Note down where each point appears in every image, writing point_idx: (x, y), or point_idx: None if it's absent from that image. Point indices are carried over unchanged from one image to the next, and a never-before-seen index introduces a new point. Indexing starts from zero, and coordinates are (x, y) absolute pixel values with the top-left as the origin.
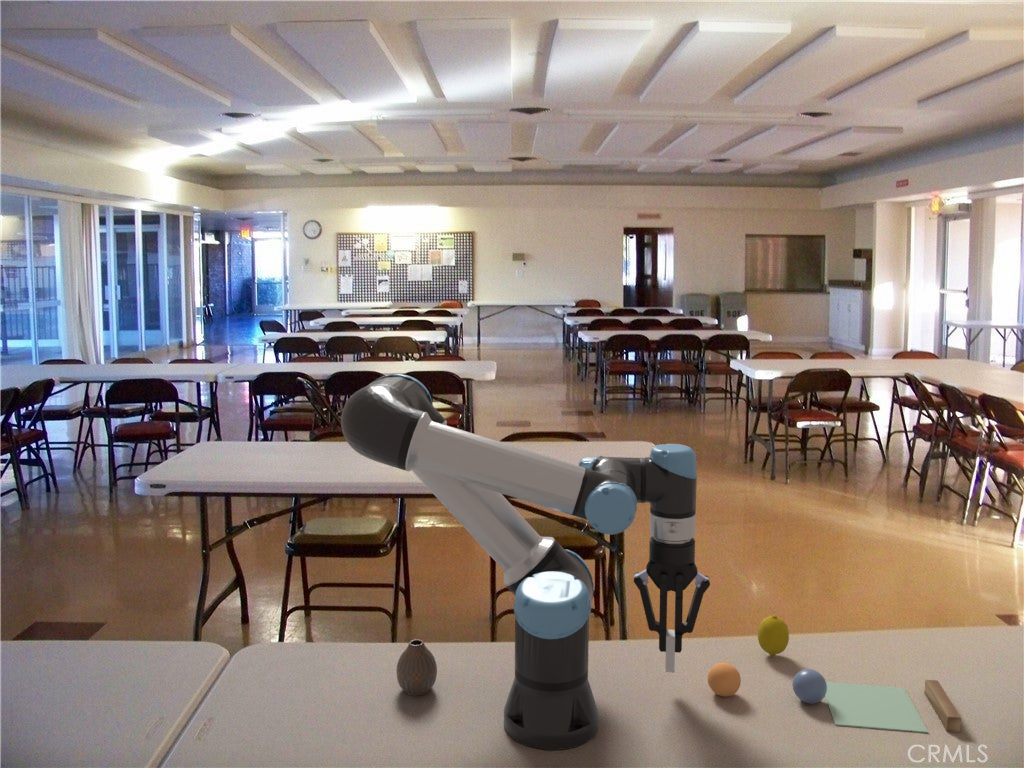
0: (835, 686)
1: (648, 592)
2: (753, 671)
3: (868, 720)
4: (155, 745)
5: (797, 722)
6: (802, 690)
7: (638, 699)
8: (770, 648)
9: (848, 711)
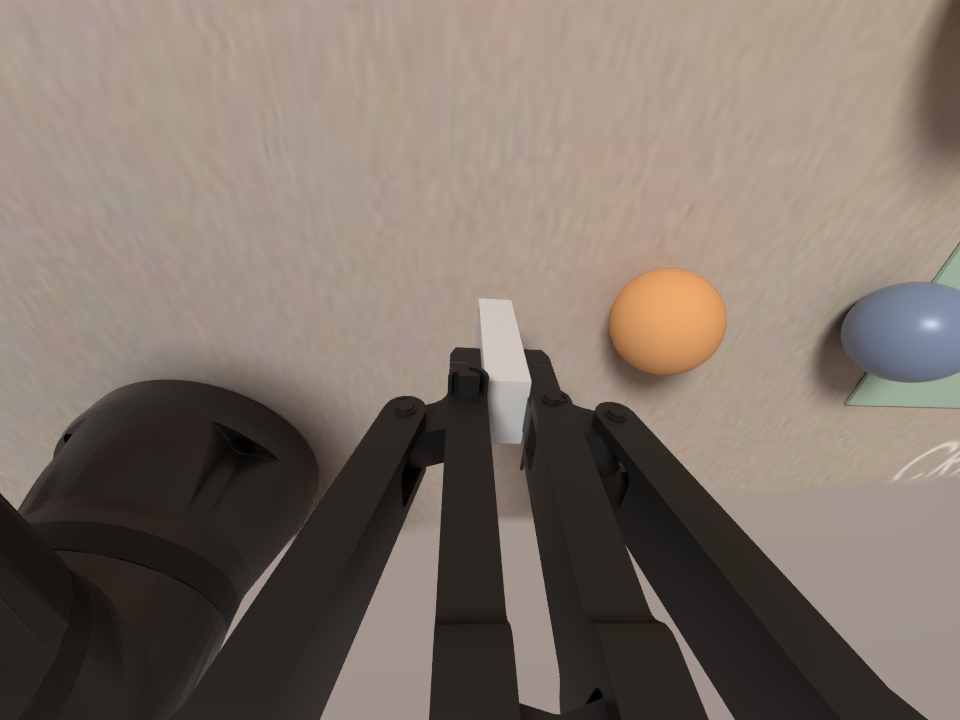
0: None
1: (322, 641)
2: (822, 123)
3: (936, 384)
4: None
5: (766, 401)
6: (863, 369)
7: (397, 350)
8: None
9: None
